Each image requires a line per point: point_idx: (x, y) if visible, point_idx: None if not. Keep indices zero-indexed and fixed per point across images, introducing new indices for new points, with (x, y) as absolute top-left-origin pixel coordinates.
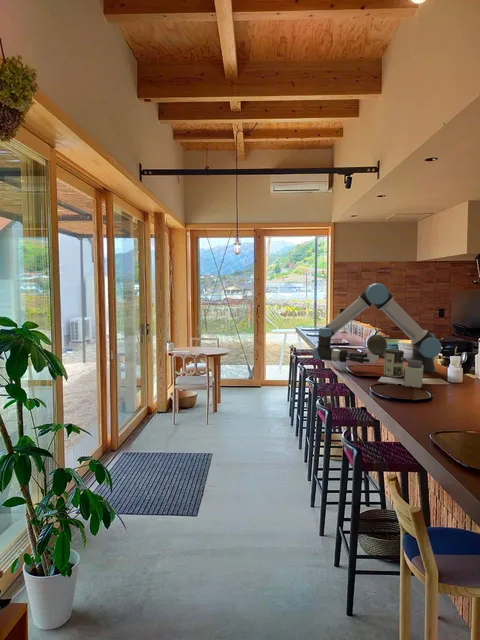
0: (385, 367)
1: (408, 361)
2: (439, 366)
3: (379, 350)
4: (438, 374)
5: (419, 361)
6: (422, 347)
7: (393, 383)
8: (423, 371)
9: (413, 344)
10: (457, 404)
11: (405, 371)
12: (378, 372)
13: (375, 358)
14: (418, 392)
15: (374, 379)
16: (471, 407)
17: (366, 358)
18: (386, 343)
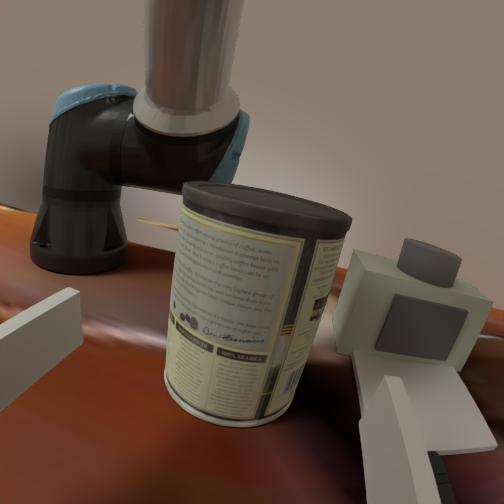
0: (277, 377)
1: (456, 263)
2: (34, 216)
3: None
4: (150, 250)
5: (427, 244)
6: (240, 154)
7: (468, 397)
8: (123, 259)
9: (194, 137)
10: (501, 318)
11: (487, 314)
12: (135, 437)
13: (59, 344)
14: (494, 350)
15: (454, 478)
16: (496, 309)
17: (428, 482)
18: None
